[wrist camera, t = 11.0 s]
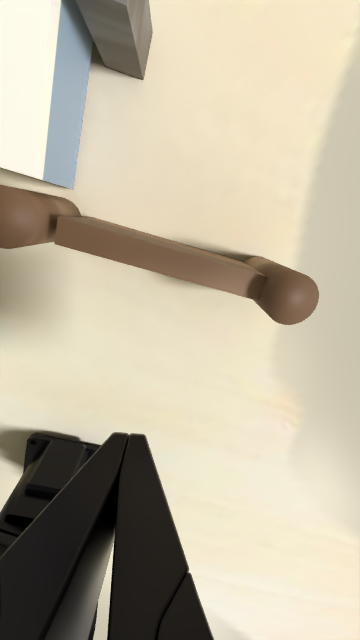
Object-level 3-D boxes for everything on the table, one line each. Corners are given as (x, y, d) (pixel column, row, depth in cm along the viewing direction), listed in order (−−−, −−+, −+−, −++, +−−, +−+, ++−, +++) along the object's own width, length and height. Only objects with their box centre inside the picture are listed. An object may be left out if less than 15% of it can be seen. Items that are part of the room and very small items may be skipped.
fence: (265, 296, 18) (304, 330, 13) (39, 233, 17) (-30, 239, 11) (342, 103, 15) (447, 30, 9) (63, -2, 13) (-22, -172, 7)
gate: (47, 181, 15) (-13, 163, 10) (80, -133, 11) (8, -400, 6) (78, 191, 16) (34, 177, 11) (122, -115, 12) (84, -359, 7)
